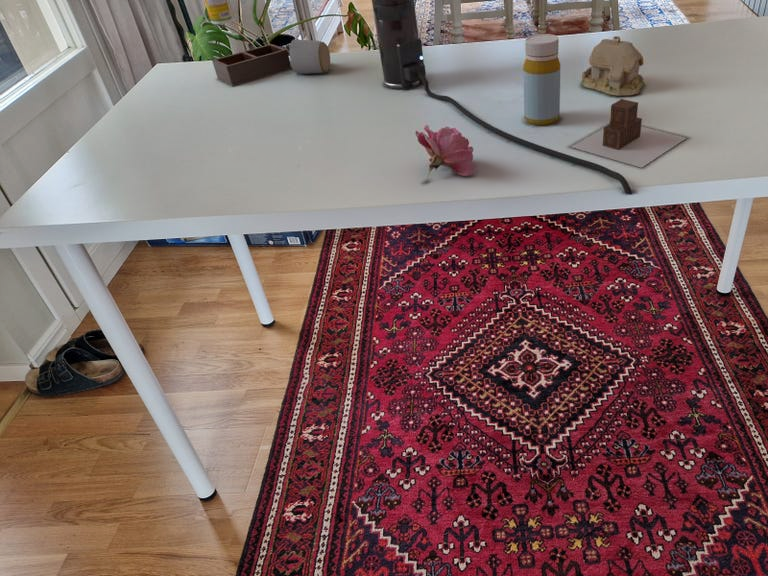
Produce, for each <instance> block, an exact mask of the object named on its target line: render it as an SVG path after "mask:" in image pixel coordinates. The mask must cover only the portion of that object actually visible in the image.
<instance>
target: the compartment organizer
mask: <svg viewBox="0 0 768 576" xmlns="http://www.w3.org/2000/svg"><path fill="white" fill-rule="evenodd" d="M211 62H212V65H213V68H214V71H215V74H216V77H217V80H218V81H221V82H223V83H225V84H227V85H229V86H231V87H235V86H238V85H242V84H246V83H248V82H251V81H255V80H259V79H262V78H265V77H269V76H272V75H275V74H279V73H282V72H285V71H289V70H293V68H292V65H291V60H290V55H289V52H288V49H286V48H283V47H281V46H278V45H275V44H272V43H268V44H266V45H261V46H258V47H255V48H251V49H247V50H244V51H239V52H236V53H233V54H229V55H225V56H221V57H218V58H214V59H211Z"/></svg>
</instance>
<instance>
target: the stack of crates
mask: <svg viewBox="0 0 768 576" xmlns="http://www.w3.org/2000/svg"><path fill="white" fill-rule="evenodd" d="M638 109H639V102H637V101H633V100H628V99H624V98H620V99H619V100H618V101H616V102H614V103H612V104H611V105H610V115H609V116H610V118H609V124H607V125H606V126H604V127H603V128H602V129H600V130H598V131H596V132H595V133H593V134H591V135H589V136H587V137H586V138H583V139H582V140H580V141H579V142H577V143H575V144H574V145H571V148H573V149H576V150H579V151H583V152H587V153H590V154H593V155H597V156H600V157H604V158H607V159H611V160H614V161H617V162H621V163H624V164H628V165H631V166H634V167H638V168H641V169H642V168H643V167H645V166H647V165H648V164H650V163H651V162H653V161H654V160H656V159H657V158H659V157H660V156H662V155H664V154H665V153H666V152H668V151H670V150H671V149H672V148H674V147H675V146H677V145H679V144H680V143H681V142H683V141H684V140H686V139H687V137H684V136H680V135H676V134H672V133H668V132H664V131H660V130H656V129H652V128H648V127H645V126H642V121H643V118H641V117H638Z"/></svg>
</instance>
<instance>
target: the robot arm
mask: <svg viewBox="0 0 768 576" xmlns="http://www.w3.org/2000/svg"><path fill="white" fill-rule="evenodd" d="M415 4H416V3H415V0H371V6H372V12H373V19H374V24H375V25H374V26H375V33H376V38H377V44H378V50H379V58H380V62H381V69H382V76H383V84H384V86H385V87H387V88H390V89H399V90H400V89H402V90H409V89H411V88H414V87H416V86H420V85H423V87H424V91H425V93H426V95H428V97H430V98H433V99H435V100H439V101H446V102H448V103H449V104H451V105H453V106H454V107H455V108H456V109H457V110H458V111H459V112H460V113H462V114H464V115H465V116H466V117H468V118H469V119H470V120H472V121H473V122H475V123H476V124H478V126H479V125H480V126H481V127H483V128H485V129H486V130H488V131H490V132H492V133H493V134H496V135H498V136H500V137H502V138H504V139H506V140H508V141H510V142H514V143H516V144H518V145H521V146H524V147H526V148H529V149H532V150H533V151H534V150H535V151H537V152H540V153H542V154H545V155H549V156H551V157H554V158H558V159H559V160H563V161H567V162H569V163H571V164H576V165H578V166H582V167H586V168H587V169H592V170H595V171H597V172H600V173H602V174H603V175H606V176H607V177H611V178H613V179H615V180H617V181H618V182H619V183H620V185H621V186H622V189H623V190H624V193H625V194H626V195H632V194H633V191H632V189H631V186H630V184H629V183H628V181H627V179H626V178H625V177H624V176H623V175H622V174H621V173H619V172H617V171H615V170H612V169H610V168H608V167H605V166H603V165H601V164H598V163H595V162H592V161H589V160H586V159H582V158H579V157H576V156H573V155H570V154H566V153H564V152H561V151H558V150H554V149H552V148H548V147H546V146H542V145H539V144H537V143H535V142H531V141H529V140H525V139H523V138H521V137H517V136H515V135H513V134H511V133H508V132H505V130H502V129H499V128H497V127H495V126H493V125H491V124H489V123H488V122H487V121H484V120H483V119H481V118H480V117H478V116H477V115H475V114H473V113H472V112H470V111H469V110H468V109H467V108H465V107H463V105H461V104H460V103H459V102H458V101H456V100H455V99H454V98H452V97H450V96H448V95H443V94H441V95H440V94H436V93H434V92H432V91H431V89H430V87H429V82H428V80H427V77H426V76H427V72H426V66H425V61H424V53H423V44H422V39H421V38H420V37H419V29H418V20H417V11H416V5H415Z"/></svg>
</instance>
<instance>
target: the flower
mask: <svg viewBox="0 0 768 576" xmlns="http://www.w3.org/2000/svg"><path fill="white" fill-rule="evenodd" d="M423 130H425V132H426V133H427V134H426V133H424V132H422V131H418V130H415V132H414V133H415V136H416V138H417V142H418V143H419V144H420V146H422V147H423V148H424V149H425V151H426V152H427V154H428V155H429V156H430V158H428V161H429V162H430V163H429V165H428V169H429V171H428V175H427V177H426V178H425V181H424V182H425V183H426V182H427V180H428V179H429V176H430V173H431V171H432V170H433V169H435V170H434V171H435V172H436V171H437V169H439V167H440V166H443V167H451V169H452V170H453V171H454V172H455V173H456V174H458V175H460V176H462V177H468V176H471V175H473V172H474V162H473V160H474V153H473V152H474V147H473V146H469V145H470V140H469V139H468V138H466V136H463V134H462V133H461V132H460V131H459V130H458V129H457V128H456V127H454V128H451V127H450V126H445V127H441V128H439V130H438V131H433V130H431V129H430V128H429V125H428V124H426V125H424V127H423Z"/></svg>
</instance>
